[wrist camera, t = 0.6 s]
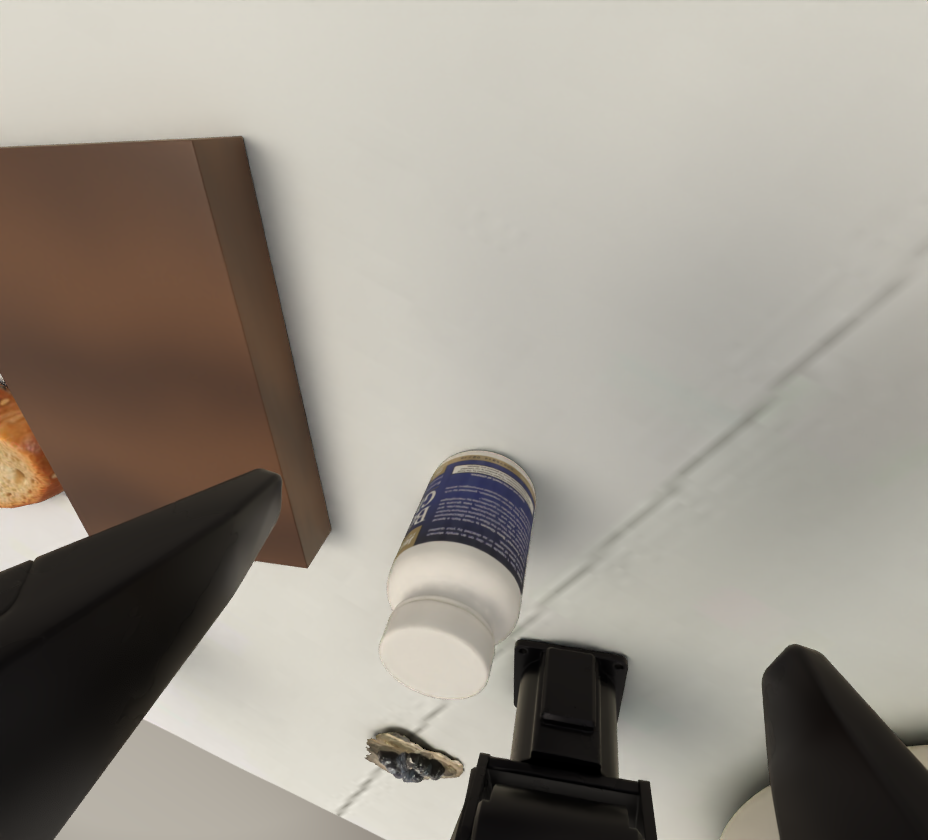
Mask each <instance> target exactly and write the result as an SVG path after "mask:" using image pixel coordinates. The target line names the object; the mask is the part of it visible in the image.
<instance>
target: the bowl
mask: <svg viewBox="0 0 928 840" xmlns="http://www.w3.org/2000/svg"><path fill="white" fill-rule="evenodd" d="M907 748H908V749H909V750H910V751H911V752H912V753H913V754H914V755H915V757H916V758H917V759H918V760H919V761H920V762H921V763H922V764H923V765H924V766H925V768H926V769H927V770H928V745H919V746H907ZM719 840H780V838H779V832H778V827H777V821H776V815H775V810H774V804H773V799H772V792H771V786H770V785H769V786H767V787H766V788H764V789H763V790H761V791H760V792H758V793H757V794H755V795H754V796H753V797H752V798H750V799H749V800H748V801H747V802H746V803H745V804H744V805H743V806H742V807H741V808H740V809H739V810H738V811H737V812H736V813H735V814H734V816H733V817H732V818H731V819H730V821H729V822H728V824H727V825H726V827H725V829H724V830H723V832H722V835H721V837H720V839H719Z"/></svg>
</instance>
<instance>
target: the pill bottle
mask: <svg viewBox="0 0 928 840" xmlns="http://www.w3.org/2000/svg"><path fill="white" fill-rule="evenodd" d="M535 509H536V495H535V490H534V487H533V484H532V482H531V480H530V478H529V477H528V475H527V474H526V473H525V471H524V470H523V469H522V468H521V467H520V466H518V465H517V464H516V463H515V462H513V461H512V460H510V459H508V458H506V457H504V456H502V455H499V454H496V453H493V452H488V451H466V452H462V453H458V454H456V455H453V456H451V457H449V458H448V459H446V460H445V461H444V462H443V463H441V464H440V466H439V467H438V468H437V469H436V471H435V473H434V474H433V476H432V478H431V480H430V482H429V484H428V487H427V489H426V491H425V493H424V495H423V498H422V500H421V502H420V504H419V506H418V509H417V511H416V513H415V515H414V518H413V520H412V522H411V524H410V526H409V529H408V531H407V533H406V536H405V538H404V540H403V542H402V544H401V547H400V549H399V551H398V553H397V556H396V558H395V560H394V562H393V565H392V568H391V570H390V573H389V576H388V580H387V595H388V600H389V603H390V606H391V608H392V611H393V612H392V614H391V616H390V617H389V620H388V623H387V625H386V628H385V631H384V634H383V636H382V639H381V641H380V645H379V656H380V659H381V661H382V664H383V666H384V667H385V669H386V670H387V671H388V672H389V673H390V675H392V676H393V677H394V678H395V679H396V680H397V681H399V682H400V683H401V684H403V685H404V686H406V687H408V688H410V689H412V690H414V691H416V692H418V693H421V694H423V695H426V696H430V697H434V698H439V699H447V700H454V699H465V698H469V697H472V696H474V695H476V694H478V693H479V692H480V691H482V690H483V689H484V687H485V686H486V684H487V682H488V680H489V676H490V671H491V667H492V662H493V658H494V654H495V646H496V645H497V644H499V643H501V642H502V641H503V640H505V639H506V638H507V637H508V636H509V635H510V633H511V632H512V631H513V629H514V628H515V626H516V623H517V621H518V618H519V614H520V608H521V602H522V594H523V587H524V580H525V574H526V567H527V561H528V554H529V548H530V541H531V535H532V529H533V522H534V516H535Z"/></svg>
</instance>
